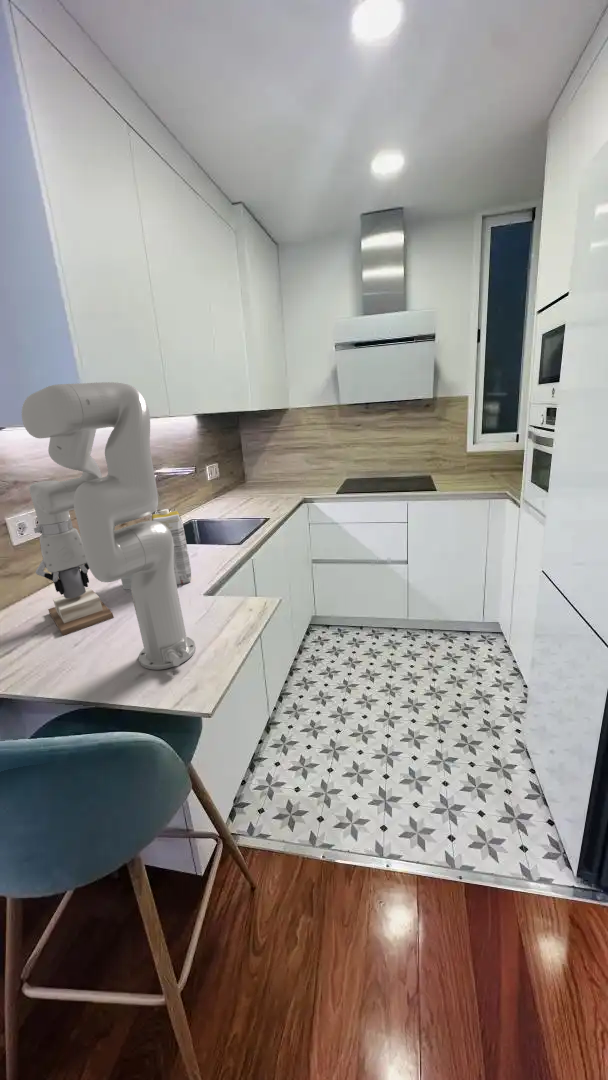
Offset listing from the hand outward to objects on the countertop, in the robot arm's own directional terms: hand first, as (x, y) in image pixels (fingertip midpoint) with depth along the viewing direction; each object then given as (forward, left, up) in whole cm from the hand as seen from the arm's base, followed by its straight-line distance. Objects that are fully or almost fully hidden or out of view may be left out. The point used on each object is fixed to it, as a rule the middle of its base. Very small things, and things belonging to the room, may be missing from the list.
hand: (73, 588), depth 123 cm
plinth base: (0, 0, -8) cm, 8 cm away
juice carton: (+1, -30, -9) cm, 31 cm away
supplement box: (+9, -20, -9) cm, 24 cm away
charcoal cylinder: (0, 0, -2) cm, 2 cm away
